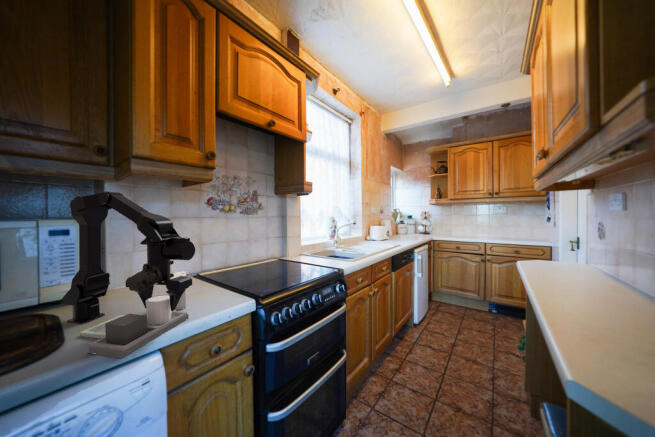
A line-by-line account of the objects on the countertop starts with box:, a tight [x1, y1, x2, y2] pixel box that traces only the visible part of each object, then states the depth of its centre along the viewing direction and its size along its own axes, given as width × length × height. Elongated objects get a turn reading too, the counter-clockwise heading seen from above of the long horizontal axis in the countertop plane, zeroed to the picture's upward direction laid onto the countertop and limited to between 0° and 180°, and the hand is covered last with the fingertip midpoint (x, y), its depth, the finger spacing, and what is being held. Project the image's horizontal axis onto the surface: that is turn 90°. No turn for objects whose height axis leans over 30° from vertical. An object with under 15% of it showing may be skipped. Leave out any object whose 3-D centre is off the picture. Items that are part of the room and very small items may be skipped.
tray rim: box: [79, 314, 125, 339], centre depth 71 cm, size 11×11×1 cm
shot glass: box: [145, 294, 172, 325], centre depth 72 cm, size 7×7×7 cm
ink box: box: [170, 270, 187, 311], centre depth 87 cm, size 9×5×12 cm, turn 31°
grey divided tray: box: [87, 310, 189, 359], centre depth 68 cm, size 10×21×6 cm, turn 169°
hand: (160, 309), depth 72 cm, fingers open, 9 cm apart
